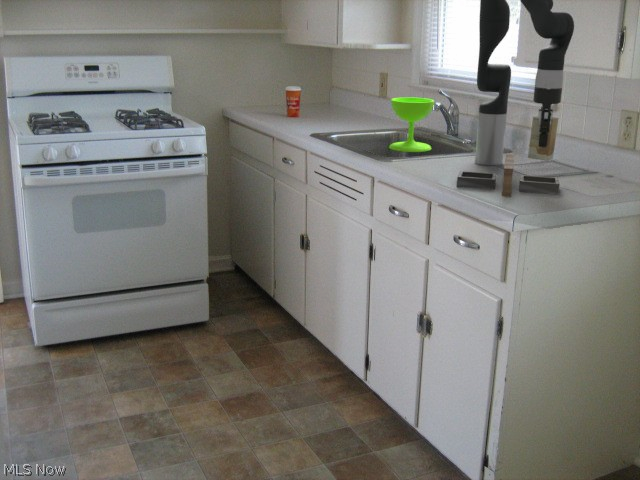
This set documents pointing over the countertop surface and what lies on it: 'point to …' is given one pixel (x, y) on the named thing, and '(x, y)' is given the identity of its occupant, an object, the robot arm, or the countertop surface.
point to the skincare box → (534, 148)
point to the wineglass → (411, 120)
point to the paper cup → (293, 100)
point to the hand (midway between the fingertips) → (542, 144)
